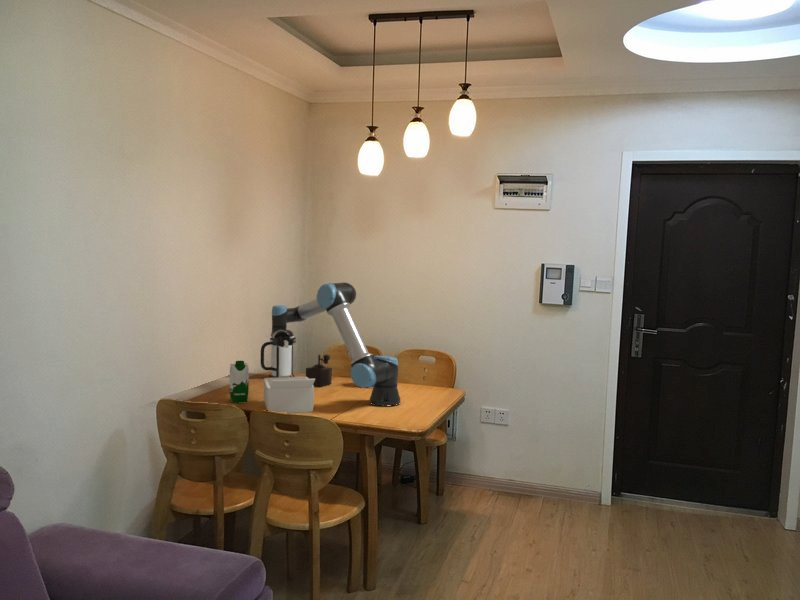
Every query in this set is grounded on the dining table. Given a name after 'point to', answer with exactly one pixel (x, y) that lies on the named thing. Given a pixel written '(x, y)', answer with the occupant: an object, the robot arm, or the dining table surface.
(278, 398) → the carton
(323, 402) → the dining table surface
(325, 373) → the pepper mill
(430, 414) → the dining table surface
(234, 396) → the milk carton
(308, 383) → the carton flap
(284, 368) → the coffee press
